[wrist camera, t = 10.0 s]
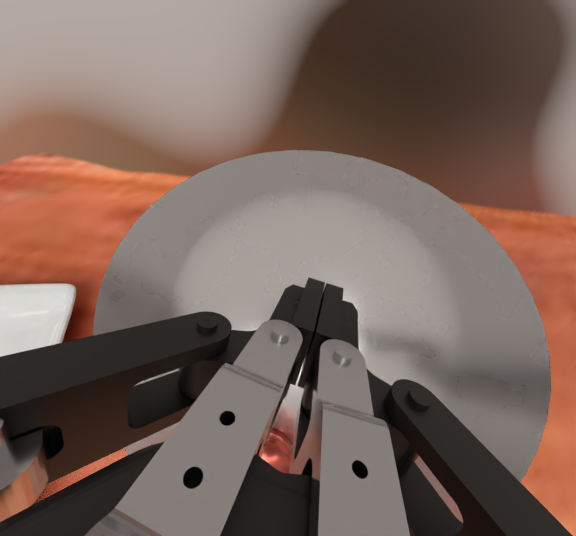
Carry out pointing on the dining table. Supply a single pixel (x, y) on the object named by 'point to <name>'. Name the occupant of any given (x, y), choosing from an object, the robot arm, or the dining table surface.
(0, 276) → the dining table surface
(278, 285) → the lid
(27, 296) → the square plate
